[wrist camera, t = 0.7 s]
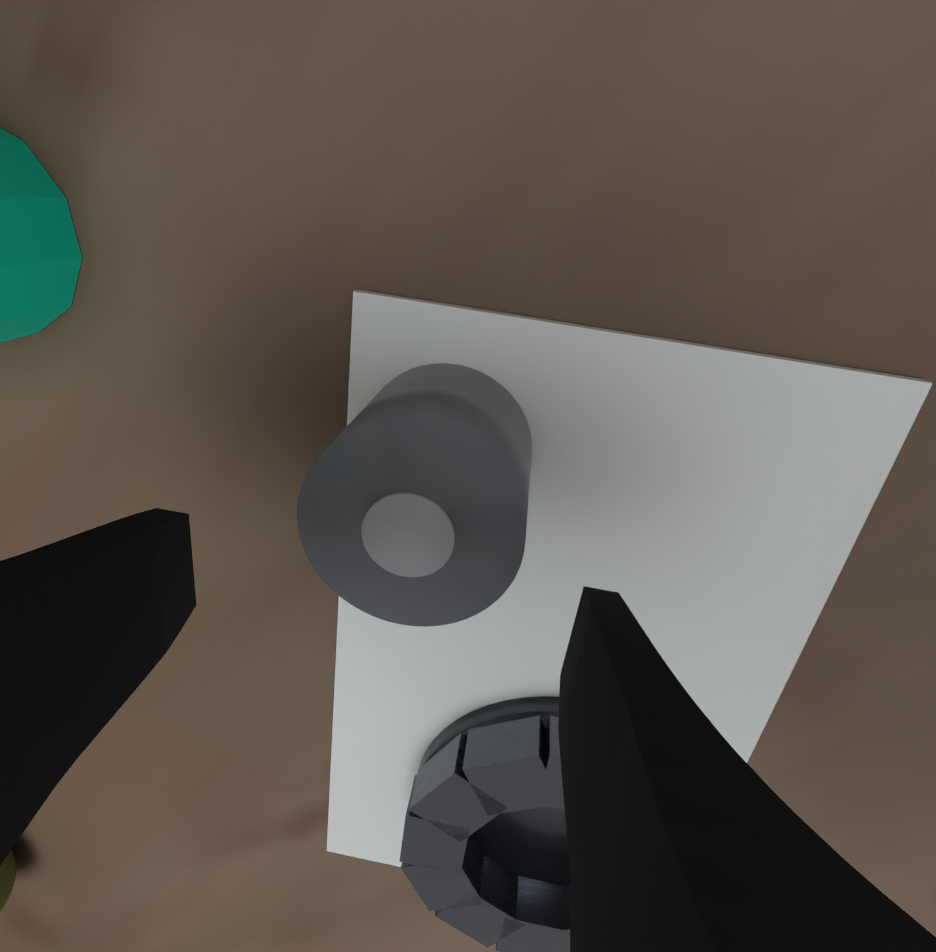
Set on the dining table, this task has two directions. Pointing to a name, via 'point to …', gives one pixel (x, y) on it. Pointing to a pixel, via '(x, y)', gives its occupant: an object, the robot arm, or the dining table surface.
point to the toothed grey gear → (494, 827)
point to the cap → (422, 498)
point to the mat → (616, 529)
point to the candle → (33, 244)
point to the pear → (7, 878)
